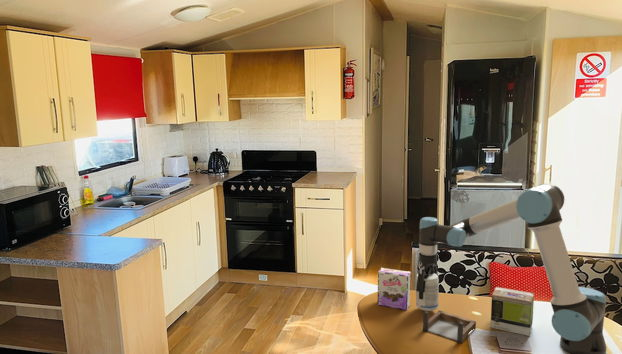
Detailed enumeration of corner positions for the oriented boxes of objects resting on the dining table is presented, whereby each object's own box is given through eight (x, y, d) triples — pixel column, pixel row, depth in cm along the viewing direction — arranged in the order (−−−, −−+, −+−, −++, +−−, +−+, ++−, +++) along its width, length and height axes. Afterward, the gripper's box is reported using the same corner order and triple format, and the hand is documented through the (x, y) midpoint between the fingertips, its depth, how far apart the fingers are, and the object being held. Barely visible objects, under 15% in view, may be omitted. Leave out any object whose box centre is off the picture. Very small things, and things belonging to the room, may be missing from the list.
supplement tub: (442, 308, 208) (443, 276, 206) (427, 313, 203) (428, 281, 200) (426, 300, 216) (426, 269, 214) (411, 305, 211) (411, 274, 208)
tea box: (532, 326, 195) (535, 292, 193) (529, 337, 187) (532, 302, 184) (494, 318, 203) (495, 285, 200) (489, 328, 194) (491, 294, 192)
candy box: (377, 305, 216) (377, 271, 213) (380, 300, 221) (380, 267, 218) (407, 310, 211) (408, 275, 208) (409, 305, 216) (410, 271, 213)
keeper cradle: (476, 328, 194) (477, 310, 193) (461, 344, 182) (462, 324, 181) (438, 316, 204) (439, 299, 203) (421, 330, 193) (422, 312, 191)
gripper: (431, 244, 216) (430, 291, 220) (407, 258, 199) (407, 308, 203) (446, 247, 211) (445, 295, 215) (424, 261, 195) (423, 312, 198)
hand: (427, 301), depth 209 cm, fingers closed on supplement tub, 9 cm apart
